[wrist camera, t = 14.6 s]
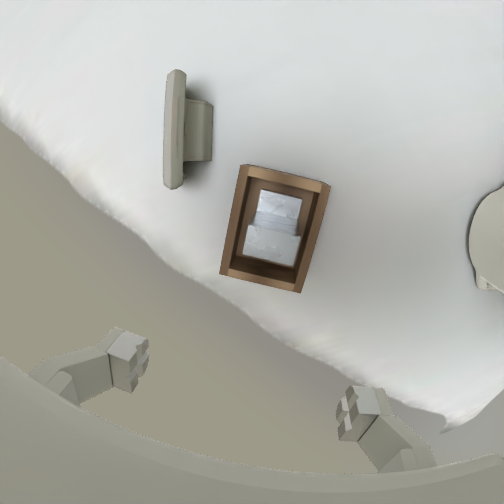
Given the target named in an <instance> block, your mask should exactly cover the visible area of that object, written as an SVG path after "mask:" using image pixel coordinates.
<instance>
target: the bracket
mask: <svg viewBox="0 0 504 504" xmlns="http://www.w3.org/2000/svg"><path fill="white" fill-rule="evenodd" d="M301 203H302V198H301V197H297V196H293V195H289V194H285V193H281V192H277V191H272V190H268V189H264V188H262V190H261V194H260V198H259V203H258V207H257V211H256V212H255V214H254V216H253V218H252V220H251V221H250V223H249V226H248V230H247V235H246V240H245V244H244V249H243V254H244V255H248V256H252V257H256V258H261V259H265V260H269V261H273V262H277V263H282V264H286V265H290V266H293V264H294V260H295V257H296V253H297V250H298V246H299V242H300V238H301V235H300V230H299V225H298V220H297V219H298V215H299V211H300V207H301Z"/></svg>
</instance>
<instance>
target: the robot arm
mask: <svg viewBox="0 0 504 504" xmlns="http://www.w3.org/2000/svg"><path fill="white" fill-rule="evenodd" d="M469 253H470V258H471V261H472V264H473V266H474V268H475V271H476V283H477V287H478V288H480V289H482V290H499V291H500V292H502V293H503V294H504V186H503V187H502V188H501V189H499V190H497V191H495V192H492V193H491V194H489V195H488V196H487V197H486V198H485V199H484V200H483V201H482V202H481V204H480V205H479V207H478V209H477V211H476V213H475V215H474V218H473V221H472V224H471V228H470V234H469ZM148 344H149V343H148V339H146V338H144V337H141V336H138V335H136V334H133V333H131V332H128V331H125V330H122V329H120V328H117V327H113V328H112V329H111V330H110V331H109V332H108V333H107V334H106V335H105V336H104V337H103V338H102V339H101V341H100V342H99V343H98V344H97V345H96V346H95V347H91V346H90V347H87V348H83V349H80V350H76V351H73V352H69V353H65V354H61V355H58V356H53V357H50V358H46V359H44V360H43V361H41V362H40V363H39V365H37V366H36V367H35V368H34V369H33V370H32V371H31V372H30V373H29V374H28V375H27V374H25V373H24V372H22V371H21V370H19V369H18V368H17V367H15V366H14V365H13V364H11V363H10V362H9V361H7V360H6V359H5V358H4V357H2V356H1V355H0V504H504V458H503V457H502V456H500V455H499V454H496V453H492V454H488V455H485V456H481V457H477V458H474V459H470V460H465V461H461V462H457V463H452V464H447V465H443V466H436V463H435V460H434V457H433V454H432V451H431V448H430V446H429V445H428V444H427V443H426V442H425V441H423V440H422V439H421V438H420V437H419V436H418V435H417V434H416V433H415V432H414V431H412V430H411V429H410V428H409V427H408V426H407V425H406V424H405V423H403V422H402V421H401V420H400V419H399V418H398V417H397V416H393V414H392V411H391V408H390V405H389V402H388V399H387V396H386V393H385V390H384V389H383V388H373V387H372V388H371V387H361V386H351V385H350V386H349V387H348V388H347V390H346V392H345V393H346V397H344V398H342V399H341V400H340V402H339V404H338V406H337V410H336V419H337V421H338V422H339V423H340V425H339V427H338V436H339V440H340V441H354V442H358V444H359V445H360V447H361V448H362V450H363V451H364V452H365V454H366V455H367V456H368V458H369V459H370V460H371V462H372V463H373V464H374V466H375V467H376V468H377V470H378V471H379V472H378V473H375V474H374V473H373V474H322V473H307V472H294V471H285V470H276V469H270V468H263V467H257V466H251V465H245V464H240V463H235V462H230V461H226V460H221V459H217V458H213V457H209V456H205V455H201V454H197V453H194V452H190V451H187V450H184V449H181V448H177V447H174V446H171V445H168V444H165V443H162V442H159V441H156V440H153V439H151V438H148V437H146V436H143V435H140V434H138V433H135V432H133V431H130V430H128V429H125V428H123V427H121V426H118V425H116V424H114V423H112V422H110V421H107V420H105V419H103V418H101V417H99V416H97V415H95V414H93V413H91V412H89V411H87V410H85V409H83V408H81V406H80V403H82V402H84V401H86V400H89V399H91V398H93V397H95V396H97V395H99V394H101V393H103V392H105V391H107V390H109V389H111V388H112V387H116V388H118V389H121V390H123V391H126V392H129V393H132V392H133V391H134V389H135V388H136V386H137V384H138V378H139V377H141V376H143V374H144V373H145V371H146V368H147V365H148V359H149V355H148V353H147V352H146V350H147V349H148V347H149V345H148Z"/></svg>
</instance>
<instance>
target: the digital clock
mask: <svg viewBox="0 0 504 504" xmlns="http://www.w3.org/2000/svg"><path fill="white" fill-rule="evenodd" d="M185 91H186V74H185V73H184V72H183V71H181V70H177V69H176V70H173V71H172V72H170V73H169V74H168V75H167V81H166V94H165V112H164V139H163V180H164V185H165V186H166V187H168V188H169V189H172V190H173V189H177V188H178V187H180V186H181V185H182V184H183V178H185V174H183V162H184V161H211V153H212V120H213V106H212V105H211V104H210V103H208V102H206V101H201V100H192V99H187V98H185ZM177 129H178V132H177Z"/></svg>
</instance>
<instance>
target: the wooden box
mask: <svg viewBox="0 0 504 504" xmlns="http://www.w3.org/2000/svg"><path fill="white" fill-rule="evenodd" d="M262 188H264V189H268V190H272V191H277V192H281V193H285V194H289V195H293V196H297V197H301V198H302V203H301V207H300V211H299V215H298V219H297V220H298V225H299V230H300V235H301V238H300V242H299V246H298V250H297V253H296V257H295V260H294V264H293V266H290V265H286V264H282V263H277V262H273V261H269V260H265V259H261V258H256V257H252V256H248V255H244V254H243V249H244V244H245V240H246V235H247V230H248V226H249V223H250V221H251V220H252V218H253V216H254V214H255V212H256V211H257V207H258V203H259V198H260V194H261V190H262ZM330 188H331V186H329V185H328V184H326V183H324V182H321V181H317V180H313V179H309V178H305V177H301V176H297V175H293V174H289V173H285V172H281V171H276V170H272V169H268V168H263V167H259V166H254V165H249V164H245V165H240V170H239V175H238V179H237V184H236V189H235V194H234V199H233V204H232V209H231V214H230V219H229V224H228V230H227V235H226V240H225V245H224V251H223V256H222V261H221V267H220V272H219V274H221V275H225V276H229V277H233V278H237V279H241V280H246V281H250V282H254V283H258V284H262V285H266V286H271V287H275V288H279V289H284V290H288V291H292V292H297V293H301V291H302V287H303V284H304V281H305V278H306V274H307V271H308V268H309V264H310V261H311V258H312V254H313V251H314V247H315V244H316V240H317V237H318V233H319V230H320V226H321V222H322V219H323V215H324V211H325V207H326V204H327V200H328V196H329V192H330Z"/></svg>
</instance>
